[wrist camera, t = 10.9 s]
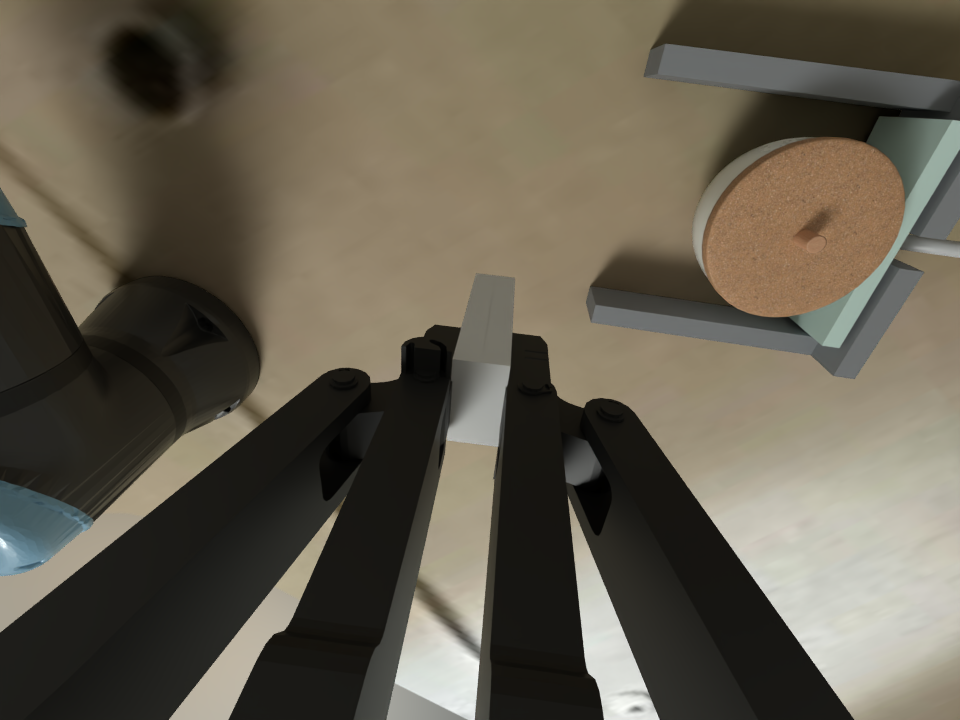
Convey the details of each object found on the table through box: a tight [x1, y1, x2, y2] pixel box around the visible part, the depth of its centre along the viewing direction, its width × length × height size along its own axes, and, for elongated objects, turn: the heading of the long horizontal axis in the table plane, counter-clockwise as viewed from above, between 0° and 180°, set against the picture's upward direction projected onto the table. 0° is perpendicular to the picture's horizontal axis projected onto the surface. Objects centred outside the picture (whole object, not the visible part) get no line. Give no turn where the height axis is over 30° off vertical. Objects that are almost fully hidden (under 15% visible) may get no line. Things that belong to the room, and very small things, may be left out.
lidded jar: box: [692, 137, 905, 317], centre depth 30 cm, size 11×11×9 cm
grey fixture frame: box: [586, 44, 960, 379], centre depth 31 cm, size 18×18×7 cm
